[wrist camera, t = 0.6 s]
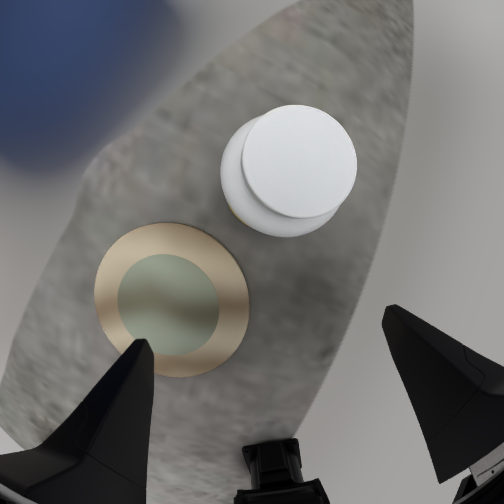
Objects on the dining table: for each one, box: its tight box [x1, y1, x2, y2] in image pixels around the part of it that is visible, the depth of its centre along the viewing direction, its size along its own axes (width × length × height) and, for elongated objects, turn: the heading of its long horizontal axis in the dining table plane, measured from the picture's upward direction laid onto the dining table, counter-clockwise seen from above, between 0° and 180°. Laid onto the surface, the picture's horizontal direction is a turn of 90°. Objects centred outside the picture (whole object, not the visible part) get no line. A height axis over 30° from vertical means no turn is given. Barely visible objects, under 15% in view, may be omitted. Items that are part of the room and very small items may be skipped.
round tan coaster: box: [94, 223, 250, 377], centre depth 23 cm, size 14×14×1 cm
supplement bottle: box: [220, 105, 357, 237], centre depth 16 cm, size 7×7×13 cm
